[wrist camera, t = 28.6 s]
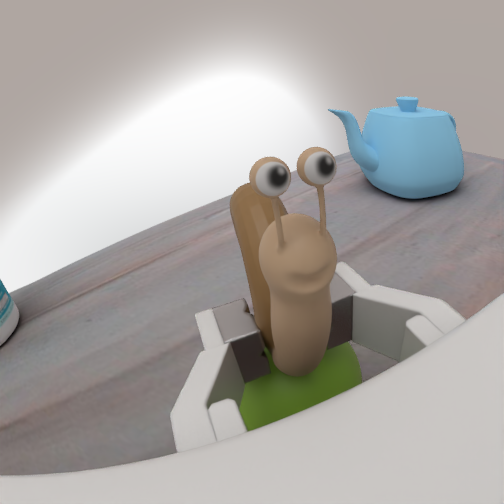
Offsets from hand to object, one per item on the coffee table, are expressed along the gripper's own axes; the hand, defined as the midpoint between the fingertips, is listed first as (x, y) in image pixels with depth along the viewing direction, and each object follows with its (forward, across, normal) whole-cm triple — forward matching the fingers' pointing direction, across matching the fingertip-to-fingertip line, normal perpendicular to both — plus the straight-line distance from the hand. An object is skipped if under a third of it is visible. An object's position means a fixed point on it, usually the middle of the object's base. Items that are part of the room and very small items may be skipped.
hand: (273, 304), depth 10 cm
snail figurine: (-1, 0, +7) cm, 7 cm away
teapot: (+21, -24, +8) cm, 33 cm away
